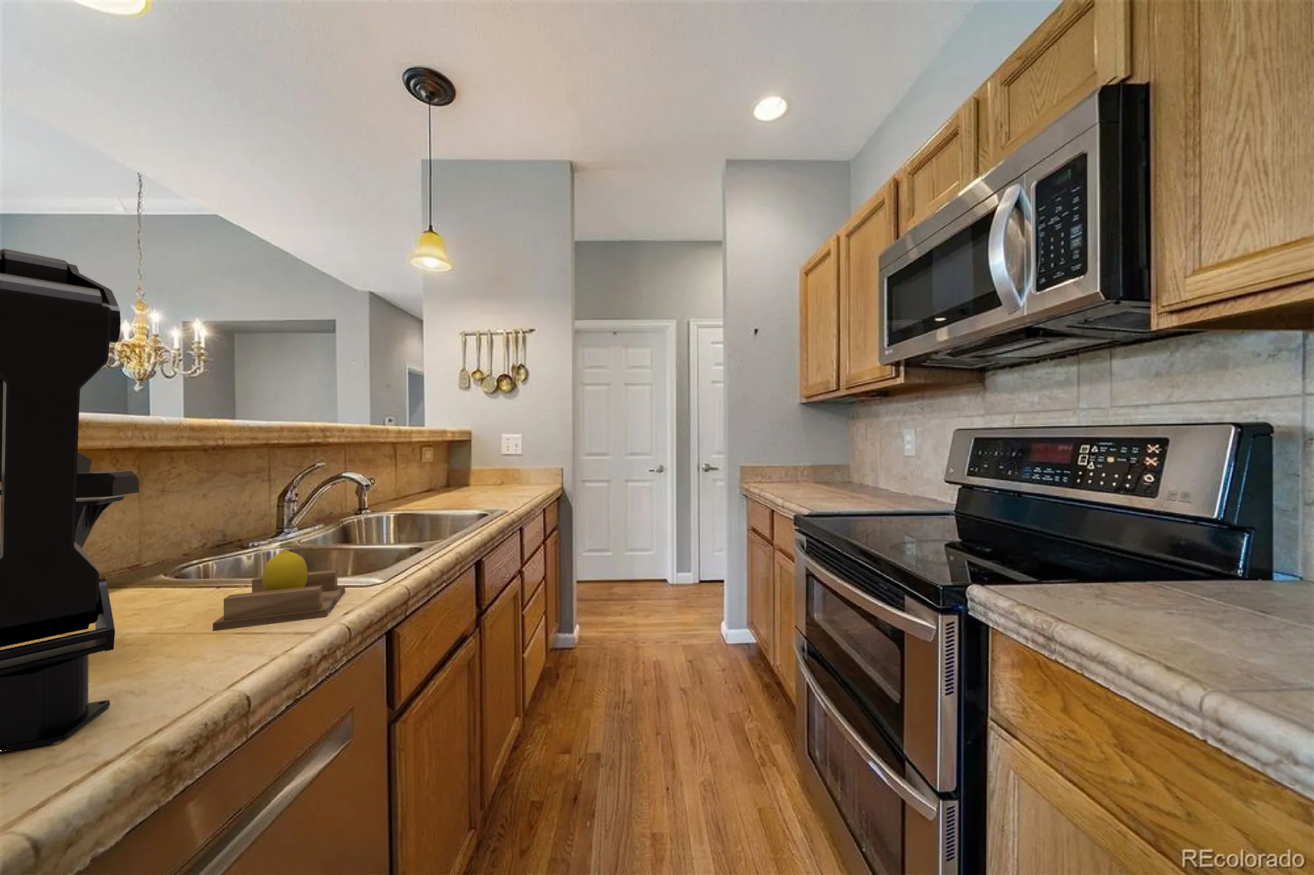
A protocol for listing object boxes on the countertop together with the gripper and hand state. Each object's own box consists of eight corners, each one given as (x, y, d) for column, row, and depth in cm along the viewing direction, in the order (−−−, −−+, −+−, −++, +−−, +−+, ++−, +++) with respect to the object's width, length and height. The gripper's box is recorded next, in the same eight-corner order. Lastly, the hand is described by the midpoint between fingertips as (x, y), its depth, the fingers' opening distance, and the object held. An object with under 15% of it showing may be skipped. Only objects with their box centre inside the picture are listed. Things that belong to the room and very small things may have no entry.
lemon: (283, 609, 71) (283, 554, 71) (252, 607, 72) (252, 553, 72) (316, 597, 76) (316, 546, 77) (287, 595, 78) (287, 545, 78)
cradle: (326, 616, 71) (326, 589, 71) (212, 630, 66) (212, 601, 66) (345, 591, 83) (344, 568, 83) (250, 601, 78) (250, 576, 78)
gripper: (163, 427, 66) (163, 542, 66) (-39, 427, 59) (-39, 556, 59) (109, 425, 56) (109, 560, 56) (-143, 424, 49) (-144, 580, 49)
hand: (15, 563), depth 55 cm, fingers open, 9 cm apart
